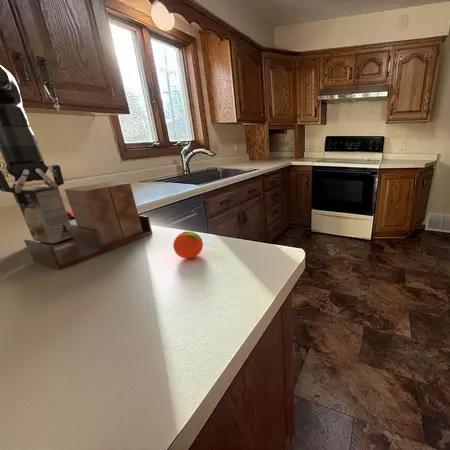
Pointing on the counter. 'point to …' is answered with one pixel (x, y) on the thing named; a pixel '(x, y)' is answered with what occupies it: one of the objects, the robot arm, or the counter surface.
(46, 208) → the coffee box
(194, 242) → the clementine
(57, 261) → the book rack
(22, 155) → the robot arm
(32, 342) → the counter surface
